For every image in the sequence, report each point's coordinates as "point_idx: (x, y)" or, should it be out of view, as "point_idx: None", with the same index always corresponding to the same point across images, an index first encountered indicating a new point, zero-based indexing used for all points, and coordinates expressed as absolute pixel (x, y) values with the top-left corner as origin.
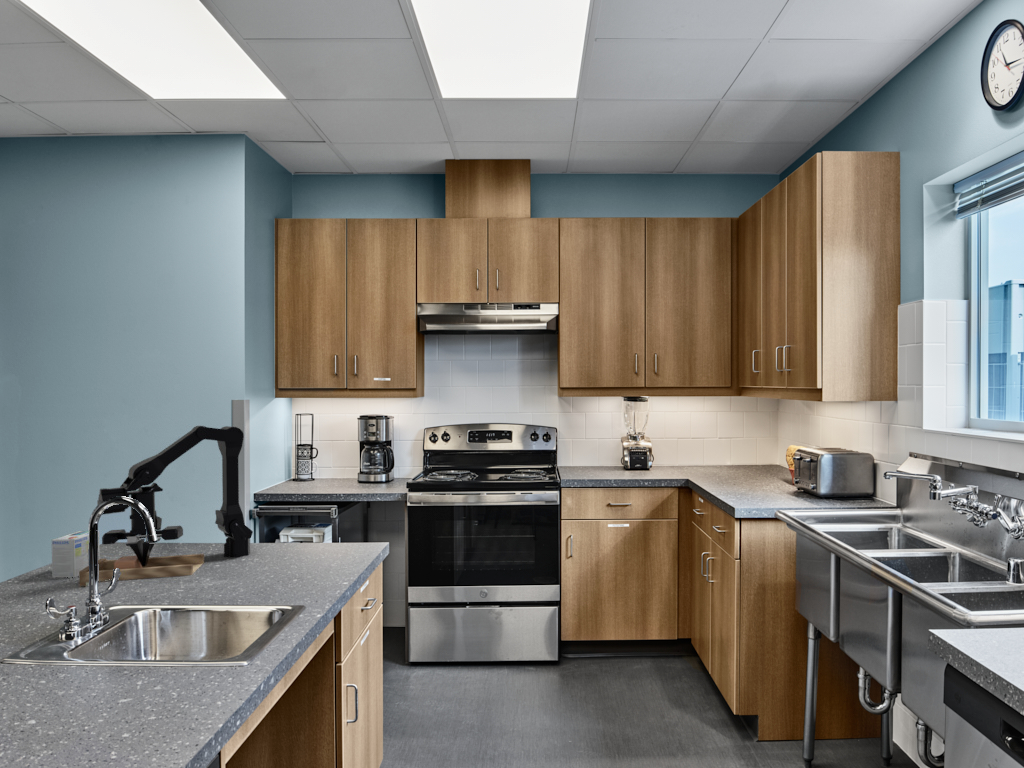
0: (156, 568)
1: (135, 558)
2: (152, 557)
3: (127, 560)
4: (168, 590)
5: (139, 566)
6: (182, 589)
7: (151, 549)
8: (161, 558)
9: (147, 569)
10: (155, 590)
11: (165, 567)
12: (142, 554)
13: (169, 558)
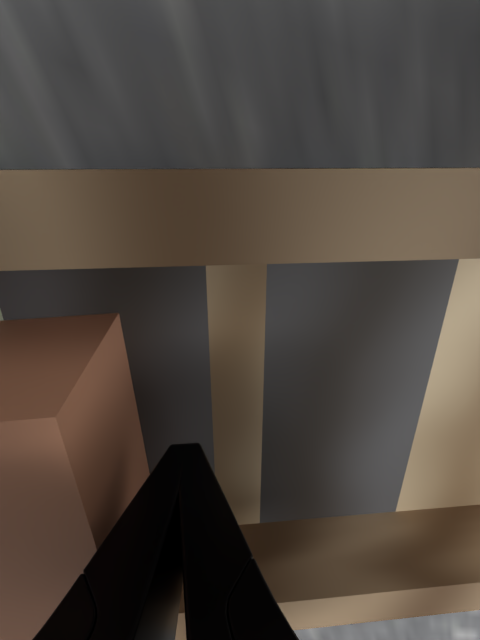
0: (361, 618)
1: (71, 575)
2: (170, 199)
3: (15, 631)
4: (414, 634)
5: (121, 423)
6: (473, 628)
7: (287, 637)
8: (325, 259)
9: (291, 620)
10: (356, 631)
11: (429, 613)
12: (166, 636)
13: (431, 256)
